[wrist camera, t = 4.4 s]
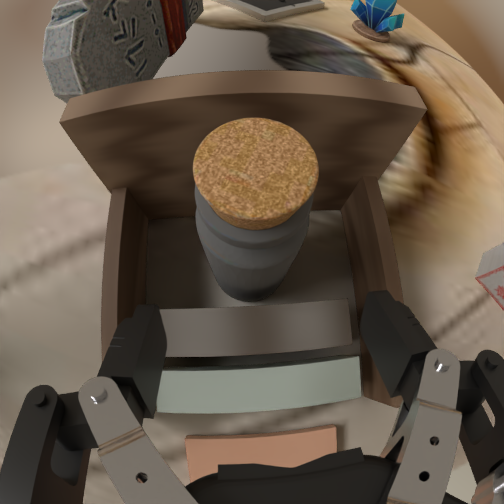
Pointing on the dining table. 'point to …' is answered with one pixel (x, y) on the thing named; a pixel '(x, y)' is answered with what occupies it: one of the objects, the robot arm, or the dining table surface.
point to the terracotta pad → (259, 449)
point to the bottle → (253, 203)
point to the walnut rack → (221, 112)
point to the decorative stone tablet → (112, 41)
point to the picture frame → (272, 7)
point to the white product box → (493, 273)
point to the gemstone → (376, 19)
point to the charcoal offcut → (256, 329)
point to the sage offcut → (259, 386)
